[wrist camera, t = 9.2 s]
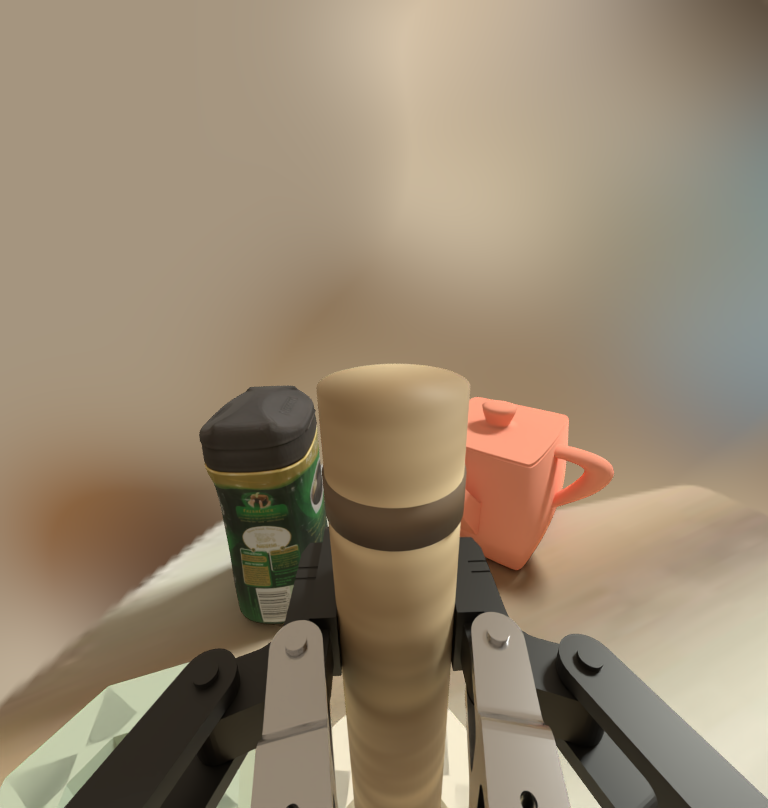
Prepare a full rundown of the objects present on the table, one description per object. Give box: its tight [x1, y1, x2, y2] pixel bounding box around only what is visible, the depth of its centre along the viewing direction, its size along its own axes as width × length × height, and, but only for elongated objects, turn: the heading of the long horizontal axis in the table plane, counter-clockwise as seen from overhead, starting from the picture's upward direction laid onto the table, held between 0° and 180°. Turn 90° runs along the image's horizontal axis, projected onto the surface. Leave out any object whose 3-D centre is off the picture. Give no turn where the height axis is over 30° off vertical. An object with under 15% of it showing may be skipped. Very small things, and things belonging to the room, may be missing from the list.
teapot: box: [460, 397, 614, 570], centre depth 38 cm, size 20×22×14 cm
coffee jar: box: [199, 386, 328, 624], centre depth 30 cm, size 10×8×19 cm
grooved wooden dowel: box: [317, 364, 470, 808], centre depth 10 cm, size 3×3×16 cm
